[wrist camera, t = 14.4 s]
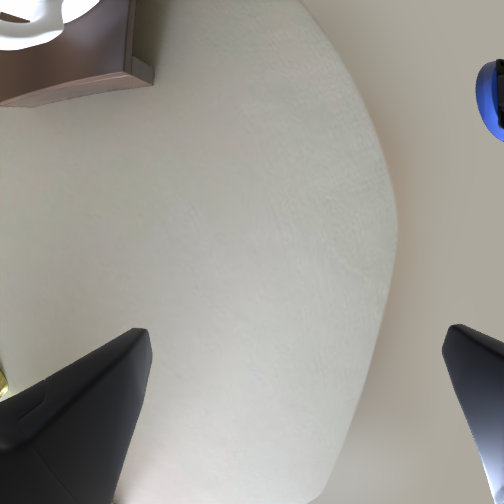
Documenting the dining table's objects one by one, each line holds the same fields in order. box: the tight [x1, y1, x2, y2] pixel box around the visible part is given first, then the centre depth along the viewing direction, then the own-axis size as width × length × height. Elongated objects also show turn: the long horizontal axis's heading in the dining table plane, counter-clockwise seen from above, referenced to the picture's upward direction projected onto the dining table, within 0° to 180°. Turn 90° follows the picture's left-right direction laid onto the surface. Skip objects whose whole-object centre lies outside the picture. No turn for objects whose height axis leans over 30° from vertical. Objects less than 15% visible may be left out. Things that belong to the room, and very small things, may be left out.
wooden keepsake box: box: [0, 0, 154, 108], centre depth 14 cm, size 10×10×5 cm
